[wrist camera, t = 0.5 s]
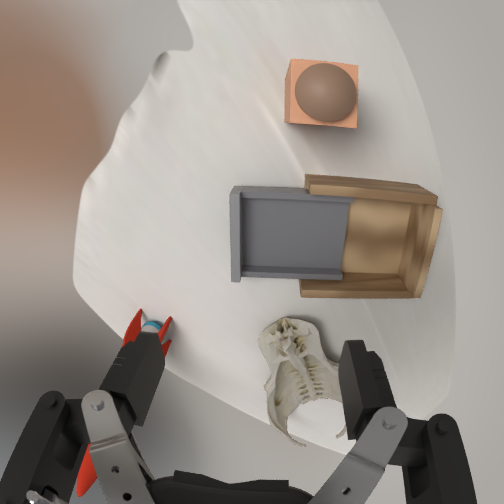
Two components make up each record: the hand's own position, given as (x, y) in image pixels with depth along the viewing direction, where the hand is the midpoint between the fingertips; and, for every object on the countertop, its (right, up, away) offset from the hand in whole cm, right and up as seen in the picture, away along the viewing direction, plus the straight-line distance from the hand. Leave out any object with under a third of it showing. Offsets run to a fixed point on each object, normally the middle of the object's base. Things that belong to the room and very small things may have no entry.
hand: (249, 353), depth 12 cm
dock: (+13, +7, +24) cm, 28 cm away
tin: (+6, +21, +18) cm, 28 cm away
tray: (+5, +7, +23) cm, 24 cm away
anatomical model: (+9, -15, +35) cm, 39 cm away
